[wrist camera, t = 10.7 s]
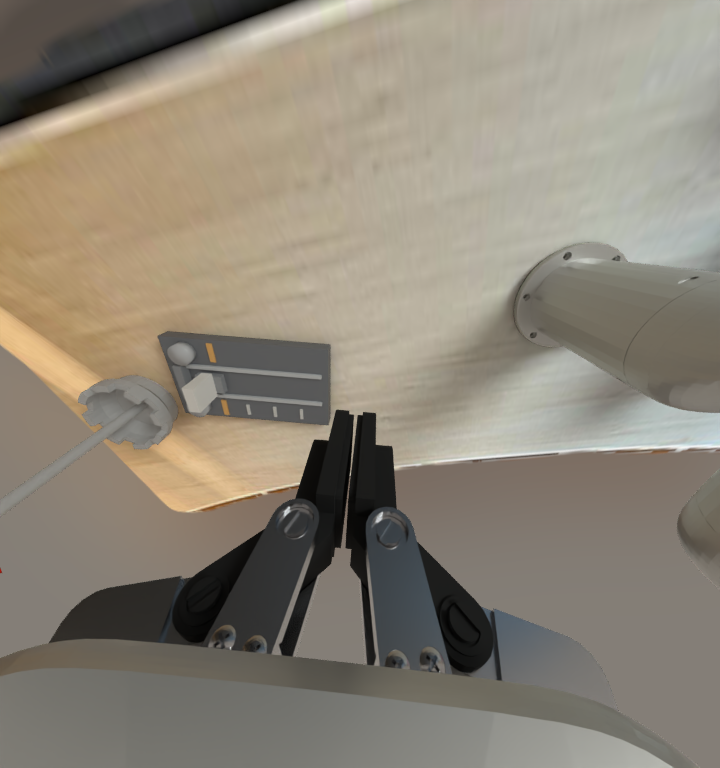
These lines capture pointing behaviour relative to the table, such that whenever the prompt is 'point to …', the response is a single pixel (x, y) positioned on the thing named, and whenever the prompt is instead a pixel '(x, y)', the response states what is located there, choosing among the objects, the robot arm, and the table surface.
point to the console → (255, 375)
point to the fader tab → (203, 390)
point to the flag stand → (111, 425)
